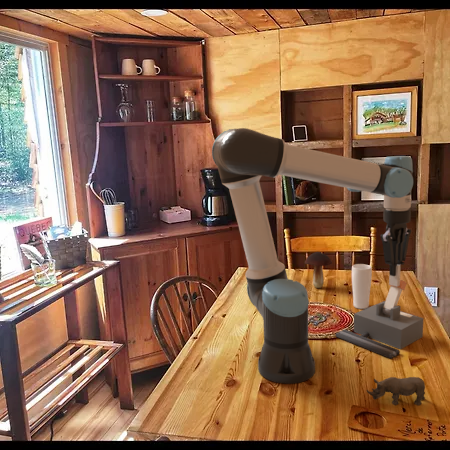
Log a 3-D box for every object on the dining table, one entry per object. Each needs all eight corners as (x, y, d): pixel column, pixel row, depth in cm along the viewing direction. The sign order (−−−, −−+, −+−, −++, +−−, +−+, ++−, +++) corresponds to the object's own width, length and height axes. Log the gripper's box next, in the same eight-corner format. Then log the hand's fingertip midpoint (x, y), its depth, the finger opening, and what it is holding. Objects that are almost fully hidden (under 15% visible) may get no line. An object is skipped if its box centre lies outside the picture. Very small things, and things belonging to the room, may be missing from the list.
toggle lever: (391, 315, 133) (403, 280, 135) (379, 311, 136) (391, 277, 138) (394, 317, 135) (406, 283, 136) (383, 313, 138) (395, 280, 140)
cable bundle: (391, 359, 122) (391, 355, 121) (334, 336, 137) (334, 332, 137) (407, 350, 126) (407, 346, 126) (350, 329, 142) (350, 325, 141)
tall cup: (368, 303, 163) (369, 263, 160) (372, 310, 156) (373, 269, 153) (349, 303, 163) (350, 264, 160) (353, 310, 157) (353, 269, 154)
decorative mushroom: (299, 286, 184) (299, 251, 181) (321, 281, 189) (321, 247, 186) (315, 294, 174) (315, 257, 171) (338, 289, 179) (338, 253, 176)
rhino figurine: (363, 396, 106) (364, 373, 104) (422, 395, 105) (423, 372, 104) (368, 406, 102) (368, 382, 100) (429, 405, 101) (430, 381, 100)
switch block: (400, 349, 127) (401, 318, 125) (353, 331, 140) (354, 303, 138) (422, 336, 134) (423, 307, 133) (376, 321, 147) (376, 293, 145)
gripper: (396, 212, 125) (393, 293, 129) (420, 207, 132) (417, 283, 137) (373, 210, 130) (371, 286, 135) (397, 205, 138) (395, 277, 143)
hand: (394, 284), depth 136 cm, fingers closed
